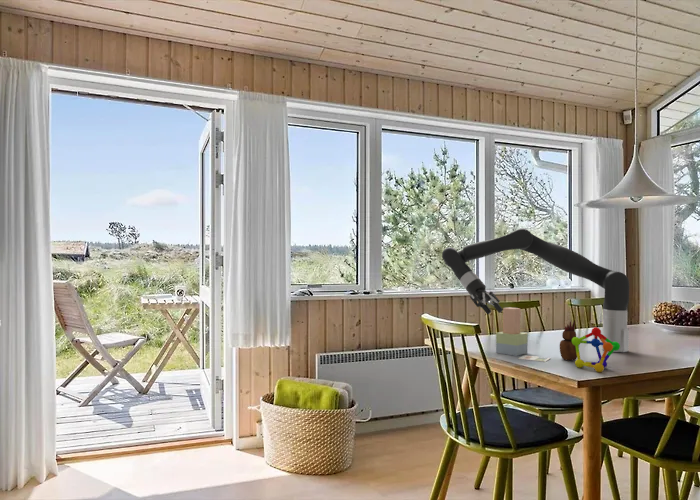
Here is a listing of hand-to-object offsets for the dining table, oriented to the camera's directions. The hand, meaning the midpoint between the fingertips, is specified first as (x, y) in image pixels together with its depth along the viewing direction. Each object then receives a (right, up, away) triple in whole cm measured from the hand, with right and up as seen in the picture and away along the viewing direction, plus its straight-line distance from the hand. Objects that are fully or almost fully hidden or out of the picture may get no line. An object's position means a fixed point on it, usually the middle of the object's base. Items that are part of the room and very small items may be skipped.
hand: (495, 312), depth 233 cm
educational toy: (+25, -16, -37) cm, 48 cm away
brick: (+4, -7, -9) cm, 12 cm away
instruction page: (+9, -15, -21) cm, 28 cm away
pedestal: (+4, -15, -9) cm, 18 cm away
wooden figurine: (+22, -16, -22) cm, 35 cm away
